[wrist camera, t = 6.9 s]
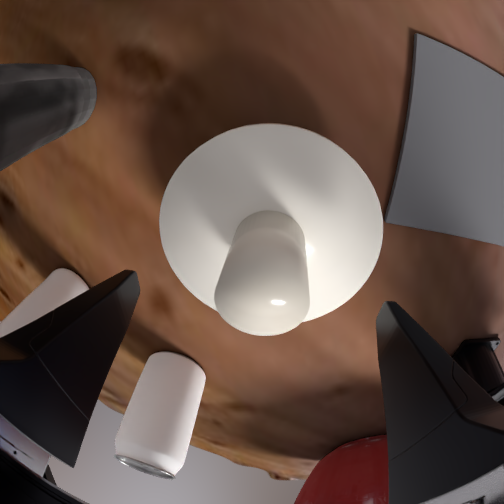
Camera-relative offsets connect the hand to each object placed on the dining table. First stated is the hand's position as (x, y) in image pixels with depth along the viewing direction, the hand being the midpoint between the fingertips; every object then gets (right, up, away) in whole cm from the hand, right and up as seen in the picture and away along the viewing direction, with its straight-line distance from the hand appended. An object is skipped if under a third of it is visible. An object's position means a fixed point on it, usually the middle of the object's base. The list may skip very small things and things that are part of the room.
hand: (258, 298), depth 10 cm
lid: (+1, +2, +4) cm, 5 cm away
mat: (+14, +8, +3) cm, 17 cm away
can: (-8, -11, +18) cm, 22 cm away
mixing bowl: (+20, -33, +28) cm, 47 cm away
